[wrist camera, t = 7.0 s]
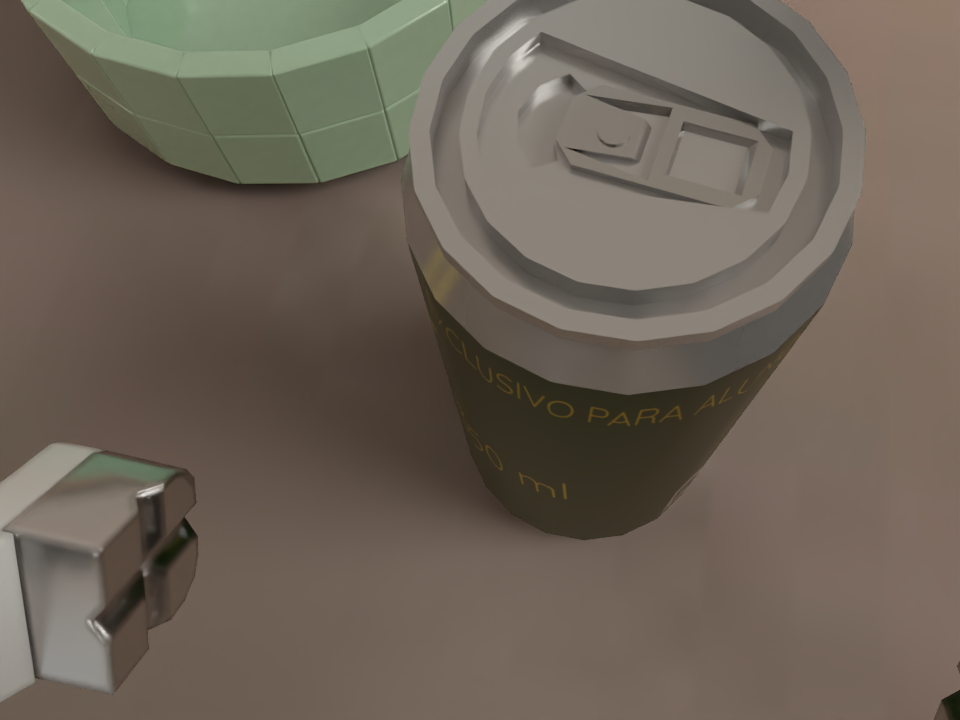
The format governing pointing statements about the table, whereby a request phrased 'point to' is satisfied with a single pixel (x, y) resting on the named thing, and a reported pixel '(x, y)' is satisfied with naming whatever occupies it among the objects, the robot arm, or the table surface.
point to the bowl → (256, 78)
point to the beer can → (623, 235)
